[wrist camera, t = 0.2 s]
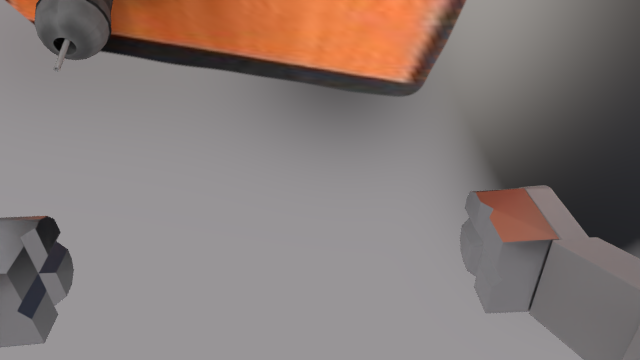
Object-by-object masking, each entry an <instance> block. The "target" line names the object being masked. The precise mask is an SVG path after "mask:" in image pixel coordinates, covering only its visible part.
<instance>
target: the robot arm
mask: <svg viewBox="0 0 640 360" xmlns="http://www.w3.org/2000/svg"><path fill="white" fill-rule="evenodd" d="M465 209H466V211H467V213H468V215H469V217H470V218H469V219H468V220H467V221H466V222H465V223H464V224H463V225H462V228H461V235H460V244H461V254H462V258H463V262H464V264H465V267H466V269H467V271H469V272H470V273H471V274H473V275H474V276H476V280H475V285H474V288H475V290H476V293H477V295H478V297H479V299H480V302H481V304H482V306H483V309H484V311H485V313H503V312H527V311H530V312H529V314H530V315H531V316H533V317H534V318H535V319H536V320H537V321H539V322H540V323H541V324H542V325H543V326H544V327H546V328H547V329H548V330H549V331H550V332H552V333H553V334H554V335H555V336H556V337H558V338H559V339H560V340H561V341H562V342H563V343H565V344H566V345H567V346H568V347H569V348H571V349H572V350H573V351H574V352H575V353H577V354H578V355H579V356H580V357H581V358H582V359H584V360H640V259H639V258H637V257H635V256H633V255H631V254H629V253H627V252H625V251H623V250H621V249H619V248H617V247H615V246H613V245H611V244H609V243H607V242H605V241H603V240H601V239H599V238H597V237H596V238H589V237H588V236H587V234H586V233H585V232H584V231H583V229H582V228H581V227H580V226H579V224H578V223H577V221H575V219H574V218H573V216H572V215H571V214H570V212H569V211H568V210H567V209H566V207H565V206H564V205H563V203H562V202H561V201H560V200H559V198H558V197H557V196H556V194H555V193H554V192H553V191H552V189H551V188H549V187H547V186H545V185H544V186H532V187H520V188H518V189H502V190H487V191H472V192H470V193H469V195H468V197H467V200H466V206H465ZM59 234H60V230H59V228H58V226H57V224H56V222H55V220H54V219H53V218H51V217H48V216H32V217H8V218H7V217H6V218H0V347H8V346H19V345H30V344H40V343H45V341H46V339H47V337H48V335H49V333H50V331H51V328H52V326H53V324H54V322H55V320H56V318H57V316H58V313H57V311H56V309H55V307H54V306H55V305H56V304H57V303H59V302H60V301H61V300H62V299H64V298H65V297H66V296H67V294H68V292H69V290H70V287H71V285H72V279H73V271H74V269H73V263H72V258H71V256H70V253H69V251H68V249H67V248H65V247H64V246H62V245H61V244H60V243H58V242H57V238H58V236H59Z"/></svg>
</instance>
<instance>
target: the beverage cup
mask: <svg viewBox="0 0 640 360" xmlns="http://www.w3.org/2000/svg"><path fill="white" fill-rule="evenodd" d="M112 3H113V0H39V1H38V2H37V4H36V12H35V27H36V30H37V34H38V36H39V38H40V39H41V41H42V42H43V44H44V45H45V46H46V47H47V48H48V49H49V50H50V51H51V52H53V53H54V54H56V55H58V58H57V61H56V63H55V66H54V70H55V71H57V72H58V71H59V70H60V68H61V65H62V62H63V60H64V58H66V59H72V60H81V59H87V58H89V57H91V56H93V55H95V54H97V53H98V52H99V51H100V50H101V49H102V48H103V47H104V45H105V44H106V42H107V41H108V40H109V39H110V35H111V31H112V30H111V16H110V15H111V9H112Z"/></svg>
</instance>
